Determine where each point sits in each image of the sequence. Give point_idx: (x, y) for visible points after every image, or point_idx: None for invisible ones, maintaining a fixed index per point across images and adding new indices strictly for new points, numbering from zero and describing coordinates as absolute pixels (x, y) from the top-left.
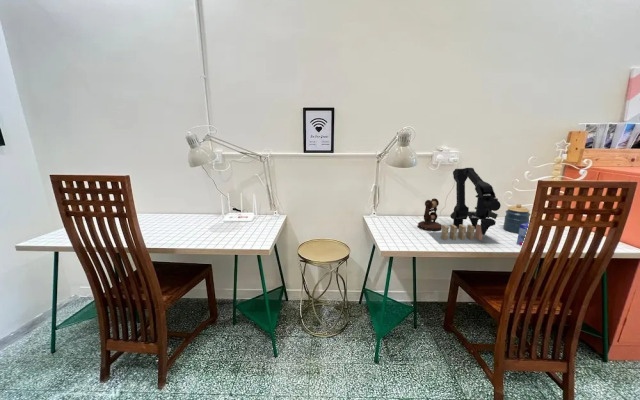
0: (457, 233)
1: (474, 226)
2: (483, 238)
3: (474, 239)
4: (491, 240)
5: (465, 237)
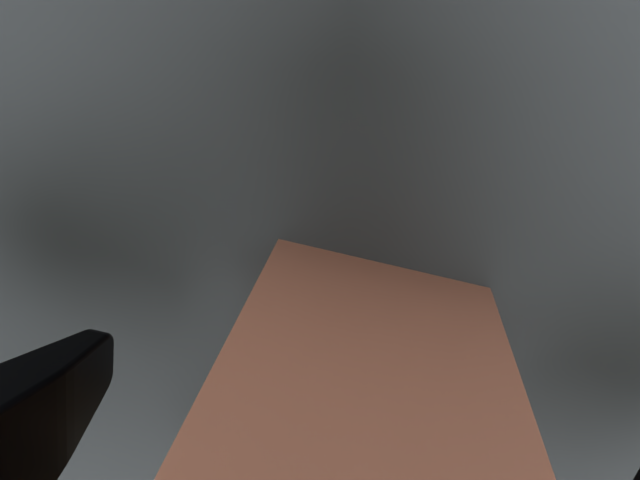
0: None
1: (51, 454)
2: (407, 167)
3: None
4: (609, 64)
5: None
